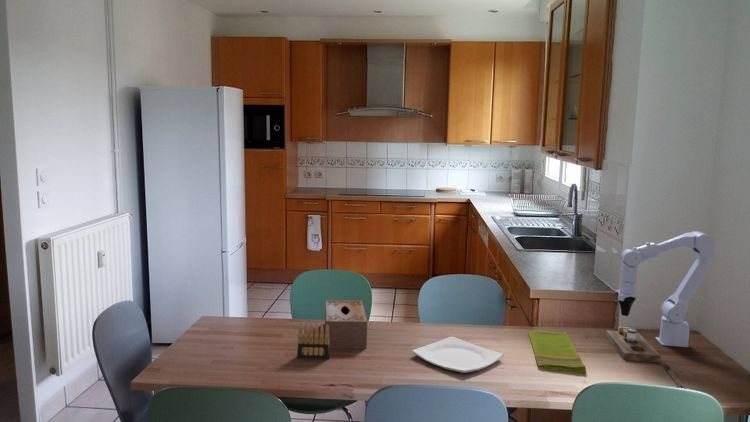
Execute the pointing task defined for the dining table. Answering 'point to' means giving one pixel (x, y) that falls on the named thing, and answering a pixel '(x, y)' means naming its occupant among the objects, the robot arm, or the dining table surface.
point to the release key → (623, 330)
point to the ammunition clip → (313, 343)
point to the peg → (631, 335)
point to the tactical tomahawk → (672, 375)
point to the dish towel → (556, 352)
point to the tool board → (633, 347)
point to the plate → (457, 355)
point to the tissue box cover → (346, 323)
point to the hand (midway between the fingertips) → (624, 315)
